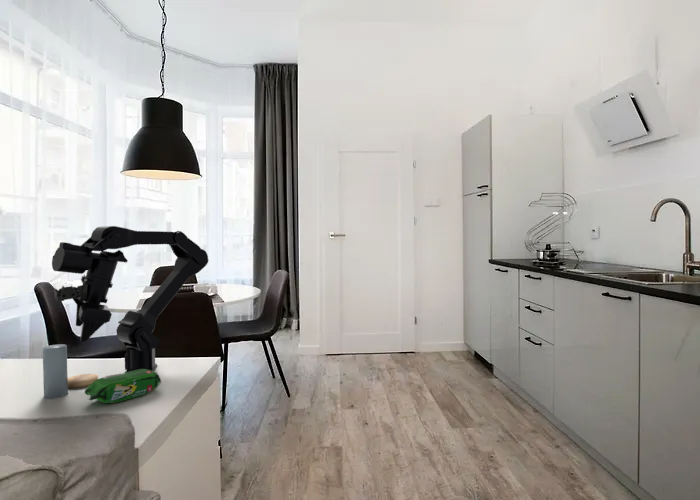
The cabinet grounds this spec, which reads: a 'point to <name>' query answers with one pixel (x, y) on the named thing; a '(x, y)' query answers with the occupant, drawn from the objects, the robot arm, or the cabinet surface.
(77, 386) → the tan round disc
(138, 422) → the cabinet surface
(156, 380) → the snack package
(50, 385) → the grey rounded cylinder
